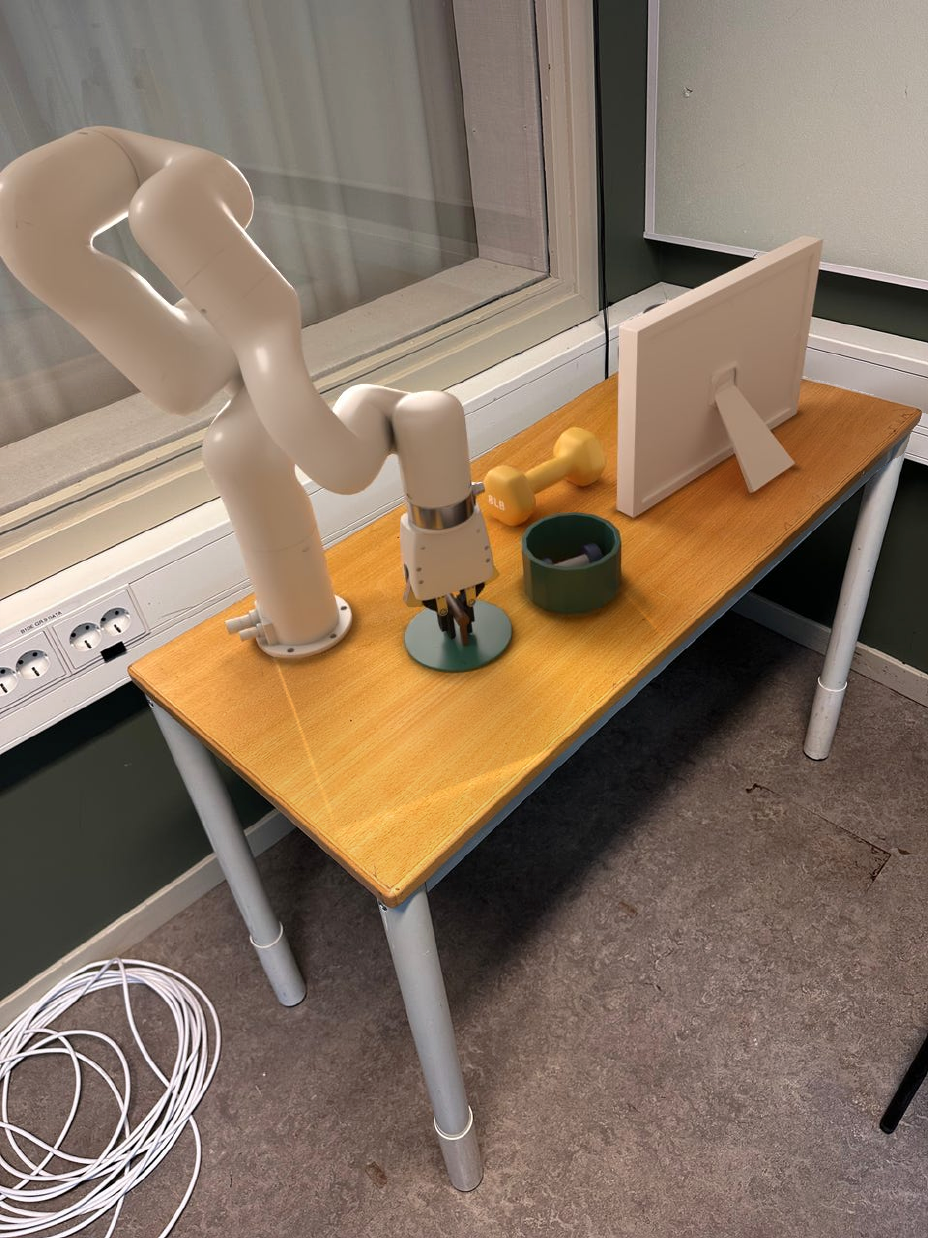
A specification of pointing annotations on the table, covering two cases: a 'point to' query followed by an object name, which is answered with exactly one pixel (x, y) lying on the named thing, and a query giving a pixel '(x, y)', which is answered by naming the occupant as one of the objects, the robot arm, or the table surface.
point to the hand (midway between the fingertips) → (457, 629)
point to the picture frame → (714, 376)
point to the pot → (575, 583)
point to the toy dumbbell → (581, 556)
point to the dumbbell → (543, 476)
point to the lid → (458, 638)
